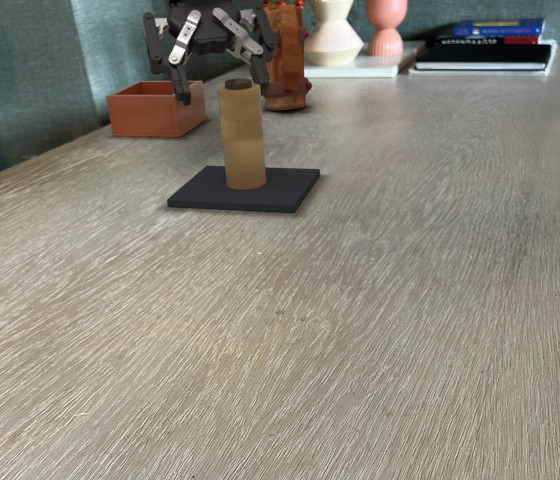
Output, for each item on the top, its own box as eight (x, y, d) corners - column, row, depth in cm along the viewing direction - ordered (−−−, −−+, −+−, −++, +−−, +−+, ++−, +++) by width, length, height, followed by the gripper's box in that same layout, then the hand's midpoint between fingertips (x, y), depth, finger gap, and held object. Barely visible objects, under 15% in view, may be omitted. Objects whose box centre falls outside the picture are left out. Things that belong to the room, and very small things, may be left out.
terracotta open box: (113, 135, 98) (105, 96, 95) (144, 117, 106) (138, 80, 103) (180, 137, 95) (174, 96, 92) (206, 118, 103) (202, 80, 100)
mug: (257, 103, 110) (250, -1, 102) (306, 99, 111) (303, -4, 102) (265, 125, 98) (258, 9, 90) (320, 121, 98) (318, 5, 90)
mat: (167, 206, 72) (166, 199, 71) (207, 171, 81) (206, 165, 81) (294, 213, 68) (293, 205, 68) (320, 175, 78) (320, 168, 77)
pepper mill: (221, 189, 73) (210, 85, 67) (234, 176, 76) (225, 76, 70) (259, 190, 72) (252, 85, 66) (271, 177, 75) (265, 76, 69)
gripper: (126, -52, 71) (162, 82, 68) (254, -61, 74) (293, 66, 72) (127, 1, 78) (161, 125, 75) (244, -9, 82) (280, 108, 79)
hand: (225, 96), depth 74 cm, fingers open, 8 cm apart
